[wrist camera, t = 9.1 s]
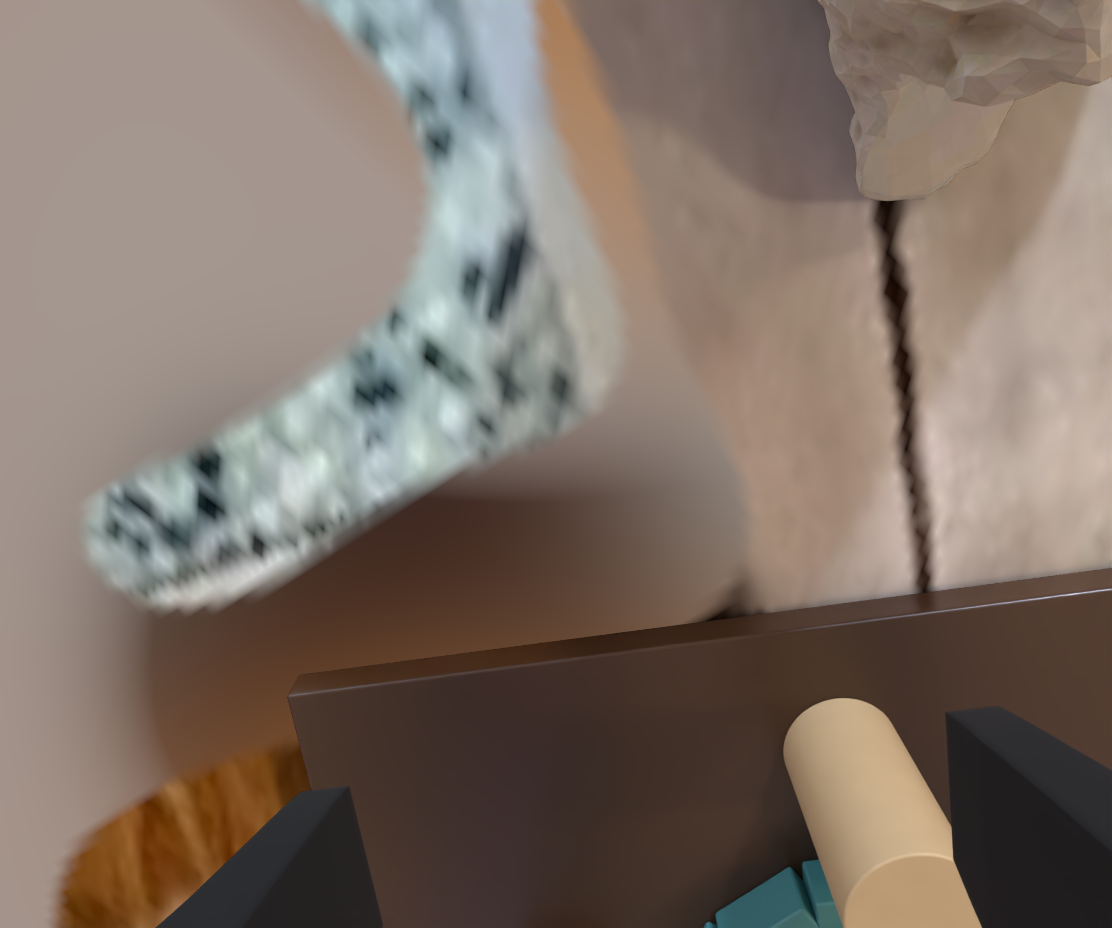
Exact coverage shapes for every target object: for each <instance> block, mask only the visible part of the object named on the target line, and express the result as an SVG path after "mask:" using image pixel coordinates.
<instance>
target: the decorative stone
mask: <svg viewBox="0 0 1112 928" xmlns="http://www.w3.org/2000/svg"><path fill="white" fill-rule="evenodd" d="M818 1H819V4H820V5H822V6H823V7H824V9H825V14H826V19H827V23H828V26H829V28H830V41H829V44H828V47H829V52H830V57H831V62H832V65H833V68H834V71H835V74H836V76H837V77H838V78H839V79H840V80H841V81H842V82H843V84H844V86H845V88H846V90H847V92H848V94H849V97H850V100H851V102H852V105H853V107H854V110H855V113H854V115H853V118H852V121H851V125H850V130H849V132H850V135H851V138H852V141H853V144H854V147H855V152H856V183H857V186H858V189H859V192H860V193H861V194H863V195H864V196H865V197H867V198H870V199H874V200H882V201H894V200H903V199H925V198H926V197H927V196H929V195H930V194H931V193H933V192H934V191H935V190H937V189H939V188H942V187H944V186H945V185H947V184H948V183H949V182H950V181H951V180H952V179H953V177H954V176H955V175H956V173H957V172H958V171H960V170H961V169H964V168H967V167H969V166H972V165H975V164H976V163H977V162H978V161H979V160H980V159H982V158H983V157H984V156H985V155H986V154H987V152H988V151H989V149H990V147H991V146H992V144H993V143H994V141H995V139H996V138H997V135H998V132H999V129H1000V125H1001V123H1002V121H1003V120H1004V118H1005V116H1006V114H1007V112H1008V111H1009V109H1010V107H1011V105H1012V104H1013V102H1014V100H1015V99H1018V98H1022V97H1025V96H1028V95H1031V94H1034V93H1036V92H1038V91H1040V90H1042V89H1044V88H1047V87H1049V86H1051V85H1053V84H1055V83H1057V82H1060V81H1063V82H1069V83H1074V84H1080V85H1086V86H1090V85H1094V84H1097V83H1100V82H1102V81H1104V80H1106V79H1108V78H1110V77H1112V0H818Z"/></svg>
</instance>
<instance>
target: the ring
mask: <svg viewBox="0 0 1112 928" xmlns="http://www.w3.org/2000/svg"><path fill="white" fill-rule="evenodd" d="M783 753H784V761H785V764H786V767H787V770H788V773H789V776H790V779H791V781H792V784H793V787H794V790H795V793H796V796H797V798H798V801H799V804H800V807H801V810H802V813H803V815H804V818H805V821H806V824H807V827H808V830H809V832H810V835H811V838H812V841H813V844H814V847H815V849H816V852H817V855H818V858H819V860H812V861H804V862H803V864H802V871H803V880H802V879H801V878H800V876H799V875H798V874H797V873H796V872H795V871H794V869H793V868H791V867H788V868H786V869H784V870H783V871H781V872H780V873H778V874H776V875H775V876H773V877H772V878H770V879H769V880H767V881H765V882H764V883H762V884H761V885H759V886H757V887H756V888H754V889H753V890H751V891H749V892H748V893H746V894H745V895H743V896H741V897H740V898H738V899H737V900H735V901H733V902H732V903H730V904H729V905H727V906H726V907H724V908H722V909H721V910H719V911H718V912H717V913H716V914H715V916H716V922H717V924H714V923H711V922H706V924H705V926H704V928H982V927H981V924H980V922H979V920H978V918H977V915H976V913H975V911H974V908H973V906H972V904H971V901H970V899H969V897H968V894H967V892H966V889H965V887H964V884H963V882H962V880H961V877H960V875H959V872H958V870H957V867H956V865H955V863H954V860H953V846H952V827H951V825H950V824H949V822H948V820H947V818H946V817H945V815H944V813H943V811H942V810H941V808H940V806H939V804H938V803H937V801H936V799H935V798H934V796H933V794H932V792H931V791H930V789H929V787H928V785H927V784H926V782H925V780H924V779H923V777H922V775H921V773H920V772H919V770H918V768H917V766H916V765H915V763H914V761H913V759H912V758H911V756H910V754H909V753H908V751H907V749H906V747H905V746H904V744H903V742H902V740H901V739H900V737H899V735H898V733H897V732H896V730H895V728H894V727H893V725H892V723H891V722H890V720H889V719H888V717H887V716H886V715H885V714H884V713H883V712H882V711H880V710H879V709H878V708H876V707H875V706H873V705H871V704H869V703H867V702H864V701H861V700H857V699H851V698H836V699H830V700H826V701H823V702H820V703H818V704H815V705H813V706H812V707H810V708H808V709H807V710H805V711H804V712H803V713H802V714H801V715H800V716H799V717H797V719H796V720H795V721H794V722H793V724H792V725H791V727H790V728H789V730H788V733H787V735H786V738H785V742H784V748H783Z"/></svg>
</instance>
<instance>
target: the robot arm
mask: <svg viewBox="0 0 1112 928" xmlns="http://www.w3.org/2000/svg"><path fill="white" fill-rule="evenodd" d="M945 715H946V733H947V752H948V771H949V790H950V808H951V827H952V846H953V860H954V863H955V865H956V867H957V870H958V872H959V875H960V877H961V880H962V882H963V884H964V887H965V889H966V892H967V894H968V897H969V899H970V901H971V904H972V906H973V908H974V911H975V913H976V915H977V918H978V920H979V922H980V924H981V927H982V928H1112V770H1110V769H1109V768H1107V767H1105V766H1103V765H1102V764H1100V763H1098V762H1096V761H1095V760H1093V759H1091V758H1090V757H1088V756H1086V755H1084V754H1083V753H1081V752H1079V751H1078V750H1076V749H1074V748H1072V747H1071V746H1069V745H1067V744H1066V743H1064V742H1062V741H1060V740H1059V739H1057V738H1055V737H1054V736H1052V735H1050V734H1048V733H1047V732H1045V731H1043V730H1042V729H1040V728H1038V727H1036V726H1035V725H1033V724H1031V723H1029V722H1028V721H1026V720H1024V719H1022V718H1021V717H1019V716H1017V715H1015V714H1013V713H1012V712H1010V711H1008V710H1006V709H1004V708H1002V707H1000V706H992V707H984V708H976V709H968V710H960V711H952V712H945ZM156 928H383V922H382V918H381V914H380V910H379V906H378V902H377V897H376V893H375V889H374V885H373V881H372V877H371V873H370V869H369V865H368V861H367V856H366V852H365V848H364V844H363V840H362V836H361V832H360V828H359V824H358V820H357V815H356V811H355V807H354V803H353V799H352V795H351V791H350V787H349V786H343V787H335V788H327V789H319V790H311V791H303V792H300V793H299V794H298V795H297V796H296V797H294V798H293V799H292V800H291V801H290V802H289V803H287V804H286V805H285V806H284V807H283V808H282V809H281V810H280V811H279V812H278V813H277V814H276V815H275V816H274V817H273V818H271V819H270V820H269V821H268V822H267V823H266V824H265V825H264V826H263V827H262V828H261V829H260V830H259V831H258V832H257V833H256V834H255V835H254V836H253V837H252V838H251V839H250V840H249V841H248V842H247V843H246V844H245V845H244V846H243V847H242V848H241V849H240V850H239V851H238V852H237V853H236V854H235V855H233V856H232V857H231V858H230V859H229V860H228V861H227V862H226V863H225V864H224V865H223V866H222V867H221V868H220V869H219V870H218V871H217V872H216V873H215V874H214V875H213V876H212V877H211V878H210V879H208V880H207V881H206V882H205V883H204V884H203V885H202V886H201V887H200V888H199V889H198V890H197V891H196V892H195V893H194V894H193V895H192V896H191V897H190V898H189V899H188V900H186V901H185V902H184V903H183V904H182V905H181V906H180V907H179V908H177V909H176V910H175V911H174V912H173V913H172V914H171V915H170V916H168V917H167V918H166V919H165V920H164V921H163V922H162V923H161V924H159V925H158V926H157V927H156Z"/></svg>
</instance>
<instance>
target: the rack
mask: <svg viewBox="0 0 1112 928" xmlns="http://www.w3.org/2000/svg"><path fill="white" fill-rule="evenodd" d="M836 698H851V699H857V700H861V701H864V702H867V703H869V704H871V705H873V706H875V707H876V708H878V709H879V710H880V711H882V712H883V713H884V714H885V715H886V716H887V717H888V719H889V720H890V722H891V723H892V725H893V727H894V728H895V730H896V732H897V733H898V735H899V737H900V739H901V740H902V742H903V744H904V746H905V747H906V749H907V751H908V753H909V754H910V756H911V758H912V759H913V761H914V763H915V765H916V766H917V768H918V770H919V772H920V773H921V775H922V777H923V779H924V780H925V782H926V784H927V785H928V787H929V789H930V791H931V792H932V794H933V796H934V798H935V799H936V801H937V803H938V804H939V806H940V808H941V810H942V811H943V813H944V815H945V817H946V818H947V820H948V822H949V824H950V825H951V808H950V790H949V771H948V752H947V733H946V715H945V712H952V711H960V710H968V709H976V708H984V707H992V706H1000V707H1002V708H1004V709H1006V710H1008V711H1010V712H1012V713H1013V714H1015V715H1017V716H1019V717H1021V718H1022V719H1024V720H1026V721H1028V722H1029V723H1031V724H1033V725H1035V726H1036V727H1038V728H1040V729H1042V730H1043V731H1045V732H1047V733H1048V734H1050V735H1052V736H1054V737H1055V738H1057V739H1059V740H1060V741H1062V742H1064V743H1066V744H1067V745H1069V746H1071V747H1072V748H1074V749H1076V750H1078V751H1079V752H1081V753H1083V754H1084V755H1086V756H1088V757H1090V758H1091V759H1093V760H1095V761H1096V762H1098V763H1100V764H1102V765H1103V766H1105V767H1107V768H1109V769H1110V770H1112V568H1109V569H1102V570H1094V571H1087V572H1079V573H1071V574H1064V575H1056V576H1048V577H1041V578H1033V579H1026V580H1018V581H1010V582H1003V583H995V584H988V585H980V586H972V587H965V588H957V589H949V590H942V591H934V592H927V593H919V594H911V595H904V596H896V597H889V598H881V599H873V600H866V601H858V602H851V603H843V604H835V605H828V606H820V607H812V608H805V609H797V610H790V611H782V612H774V613H767V614H759V615H752V616H744V617H736V618H729V619H721V620H713V621H706V622H698V623H691V624H683V625H675V626H668V627H660V628H653V629H645V630H637V631H630V632H622V633H615V634H608V635H599V636H592V637H584V638H577V639H569V640H561V641H554V642H547V643H539V644H531V645H523V646H516V647H508V648H500V649H493V650H485V651H478V652H470V653H462V654H456V655H447V656H439V657H432V658H424V659H416V660H409V661H401V662H394V663H386V664H379V665H371V666H363V667H356V668H349V669H340V670H333V671H326V672H318V673H310V674H302V675H300V676H299V677H298V678H297V680H296V682H295V684H294V685H293V687H292V689H291V691H290V692H289V694H288V702H289V705H290V709H291V713H292V717H293V721H294V725H295V729H296V733H297V737H298V741H299V744H300V748H301V752H302V756H303V760H304V764H305V768H306V772H307V776H308V780H309V783H310V787H311V790H319V789H327V788H335V787H343V786H349V787H350V791H351V795H352V799H353V803H354V807H355V811H356V815H357V820H358V824H359V828H360V832H361V836H362V840H363V844H364V848H365V852H366V856H367V861H368V865H369V869H370V873H371V877H372V881H373V885H374V889H375V893H376V897H377V902H378V906H379V910H380V914H381V918H382V922H383V928H704V926H705V924H706V922H711V923H714V924H717V922H716V916H715V914H716V913H717V912H718V911H719V910H721V909H722V908H724V907H726V906H727V905H729V904H730V903H732V902H733V901H735V900H737V899H738V898H740V897H741V896H743V895H745V894H746V893H748V892H749V891H751V890H753V889H754V888H756V887H757V886H759V885H761V884H762V883H764V882H765V881H767V880H769V879H770V878H772V877H773V876H775V875H776V874H778V873H780V872H781V871H783V870H784V869H786V868H788V867H791V868H793V869H794V871H795V872H796V873H797V874H798V875H799V876H800V878H801V879H802V880H803V871H802V864H803V862H804V861H812V860H819V858H818V855H817V852H816V849H815V847H814V844H813V841H812V838H811V835H810V832H809V830H808V827H807V824H806V821H805V818H804V815H803V813H802V810H801V807H800V804H799V801H798V798H797V796H796V793H795V790H794V787H793V784H792V781H791V779H790V776H789V773H788V770H787V767H786V764H785V761H784V753H783V748H784V742H785V738H786V735H787V733H788V730H789V728H790V727H791V725H792V724H793V722H794V721H795V720H796V719H797V717H799V716H800V715H801V714H802V713H803V712H804V711H805V710H807V709H808V708H810V707H812V706H813V705H815V704H818V703H820V702H823V701H826V700H830V699H836Z"/></svg>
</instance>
